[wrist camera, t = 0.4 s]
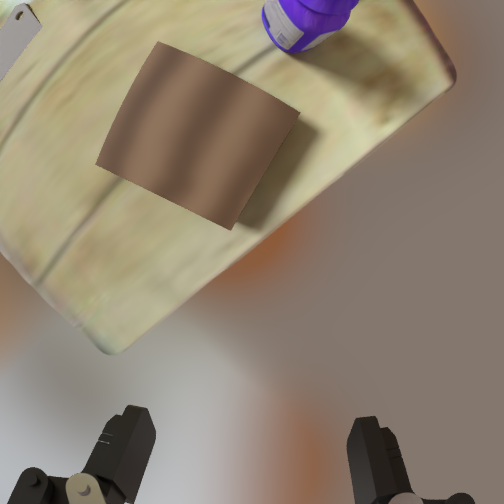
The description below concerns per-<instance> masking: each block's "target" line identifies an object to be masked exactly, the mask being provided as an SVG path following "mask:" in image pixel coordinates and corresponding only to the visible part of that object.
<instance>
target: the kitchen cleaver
mask: <svg viewBox="0 0 504 504" xmlns="http://www.w3.org/2000/svg"><path fill="white" fill-rule="evenodd" d="M22 12H23V16H22V18H21V19H19V20H18V16H19V14H20V13H22ZM41 28H42V26H41V24H40V23H39V21H38V20H37V18H36V17H35V16H34V14H33V13H32V11H31V10H30V9H29V7H28V6H27V4H25V3H22V4H20V5H18V6H15V8H14V9H13V11H12V13H11V14H10V16H9V17H8V19H7V21H6V22H5V24H4V25H3V26H2V28H1V29H0V82H1V80H2V79H3V77H4V76H5V75H6V73H7V72H8V71H9V69H10V68H11V67H12V65H13V64H14V63H15V61H16V60H17V59H18V57H19V56H20V54H21V53H22V52H23V51H24V49H25V48H26V47H27V45H28V44H29V43H30V42H31V40H32V39H33V38H34V37H35V35H36V34H37V33H38V32H39V31H40V29H41Z"/></svg>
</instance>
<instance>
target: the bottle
mask: <svg viewBox="0 0 504 504" xmlns="http://www.w3.org/2000/svg"><path fill="white" fill-rule="evenodd" d="M358 1H359V0H266V2H265V5H264V7H263V9H262V20H263V24H264V26H265V29H266V31H267V33H268V35H269V37H270V38H271V40H272V41H273V42H274V44H275V45H276V46H277V47H278V48H280V49H281V50H283V51H285V52H289V53H296V52H303V51H307V50H309V49H311V48H313V47H315V46H317V45H318V44H320V43H321V42H322V41H324V40H325V39H327V38H328V37H330V36H331V35H333V34H334V33H335V32H337V31H338V30H340V29H341V28H342V27H343V26H344V25H345V24H346V22H347V21H348V19H349V17H350V12H351V10H352V9H353V8H354V7H355V6H356V5H357V3H358Z"/></svg>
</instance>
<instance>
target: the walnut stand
mask: <svg viewBox="0 0 504 504" xmlns="http://www.w3.org/2000/svg"><path fill="white" fill-rule="evenodd" d="M299 115H300V112H298V111H297V110H295V109H294V108H292V107H290V106H289V105H287V104H285V103H284V102H282V101H280V100H279V99H277V98H275V97H273V96H272V95H270V94H268V93H266V92H265V91H263V90H261V89H259V88H257V87H255V86H254V85H252V84H250V83H248V82H246V81H244V80H242V79H240V78H238V77H237V76H235V75H233V74H231V73H229V72H227V71H225V70H223V69H221V68H218V67H216V66H214V65H212V64H210V63H208V62H206V61H204V60H201V59H199V58H197V57H195V56H192V55H190V54H188V53H185V52H183V51H181V50H178V49H176V48H173V47H171V46H169V45H166V44H163V43H161V42H157V43H156V45H155V46H154V48H153V49H152V51H151V53H150V54H149V56H148V58H147V59H146V61H145V63H144V64H143V66H142V68H141V70H140V71H139V73H138V75H137V77H136V79H135V80H134V82H133V84H132V86H131V88H130V90H129V92H128V94H127V95H126V97H125V99H124V101H123V103H122V105H121V107H120V109H119V111H118V114H117V116H116V118H115V120H114V122H113V124H112V126H111V129H110V131H109V133H108V135H107V137H106V140H105V142H104V144H103V147H102V149H101V152H100V154H99V157H98V159H97V162H96V164H95V165H97V166H99V167H102V168H104V169H106V170H108V171H110V172H112V173H114V174H116V175H118V176H120V177H122V178H124V179H126V180H128V181H130V182H132V183H135V184H137V185H139V186H141V187H143V188H145V189H147V190H149V191H151V192H153V193H155V194H157V195H159V196H161V197H163V198H165V199H167V200H169V201H171V202H173V203H175V204H177V205H179V206H182V207H184V208H186V209H188V210H190V211H192V212H194V213H196V214H198V215H200V216H202V217H204V218H206V219H208V220H210V221H212V222H214V223H216V224H218V225H220V226H222V227H224V228H226V229H228V230H230V231H231V229H232V228H233V226H234V224H235V222H236V221H237V219H238V217H239V215H240V214H241V212H242V210H243V209H244V207H245V205H246V203H247V202H248V200H249V198H250V196H251V195H252V193H253V191H254V190H255V188H256V186H257V184H258V183H259V181H260V179H261V178H262V176H263V174H264V173H265V171H266V169H267V168H268V166H269V164H270V162H271V161H272V159H273V157H274V156H275V154H276V152H277V151H278V149H279V147H280V146H281V144H282V142H283V141H284V139H285V137H286V136H287V134H288V133H289V131H290V129H291V128H292V126H293V124H294V123H295V121H296V119H297V118H298V116H299Z"/></svg>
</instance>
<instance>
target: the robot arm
mask: <svg viewBox="0 0 504 504" xmlns="http://www.w3.org/2000/svg"><path fill="white" fill-rule="evenodd" d="M155 439H156V430H155V427H154V425H153V422H152V419H151V417H150V414H149V411H148V409H147V408H144V407H138V406H133V405H128V406H127V407H126V408H125V411H124V413H123V415H122V416H121V415H115V416H114V417H112V418H111V419H110V420H109V421H108V422H107V423H106V425H105V427H104V429H103V431H102V434H101V435H100V437H99V439H98V442H97V443H96V445H95V447H94V449H93V451H92V453H91V455H90V457H89V459H88V461H87V464H86V466H85V468H84V469H83V471H82V472H81V473H77V474H74V475H72V476H71V477H70V478H62V477H53V476H47V475H46V474H45V473H44V472H43V471H42V470H41V469H39V468H35V467H31V468H28V469H26V470H24V471H23V472H22V474H21V475H20V477H19V479H18V481H17V484H16V486H15V488H14V490H13V492H12V494H11V496H10V499H9V501H8V503H7V504H124V503H125V502H127V503H130V504H134V502H135V499H136V496H137V493H138V490H139V487H140V484H141V481H142V478H143V475H144V472H145V469H146V466H147V463H148V460H149V457H150V455H151V452H152V449H153V446H154V443H155ZM347 455H348V461H349V466H350V473H351V478H352V485H353V492H354V498H355V504H475V502H474V500H473V498H472V497H471V496H470V495H468V494H466V493H457V494H454V495H453V496H451V497H450V498H449V499H447V500H426V499H423V498H420V497H419V496H417V495H416V494H415V493H414V492H413V490H412V489H411V486H410V482H409V479H408V475H407V472H406V468H405V465H404V462H403V458H402V457H401V456H402V455H401V452H400V449H399V445H398V442H397V439H396V437H395V435H394V434H393V433H392V432H391V430H390V429H389V428H388V427H385V428H380V427H379V423H378V420H377V418H376V417H375V416H370V417H360V418H356V419H355V421H354V424H353V427H352V429H351V432H350V434H349V437H348V440H347Z"/></svg>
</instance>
